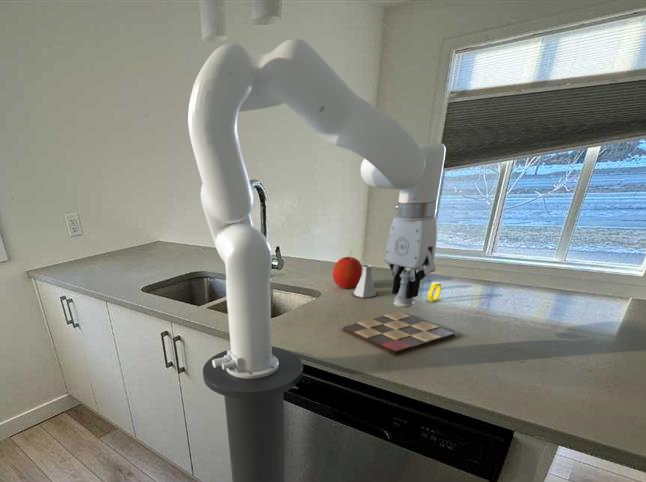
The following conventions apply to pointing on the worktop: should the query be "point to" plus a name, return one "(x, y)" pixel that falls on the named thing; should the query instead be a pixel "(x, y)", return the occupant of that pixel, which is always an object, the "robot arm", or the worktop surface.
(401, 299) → the rook chess piece
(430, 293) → the yellow ring
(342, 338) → the worktop surface
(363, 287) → the flask
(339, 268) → the apple
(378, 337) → the board
